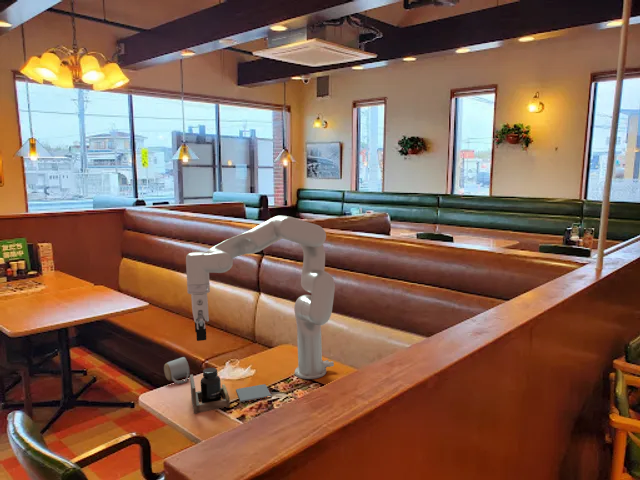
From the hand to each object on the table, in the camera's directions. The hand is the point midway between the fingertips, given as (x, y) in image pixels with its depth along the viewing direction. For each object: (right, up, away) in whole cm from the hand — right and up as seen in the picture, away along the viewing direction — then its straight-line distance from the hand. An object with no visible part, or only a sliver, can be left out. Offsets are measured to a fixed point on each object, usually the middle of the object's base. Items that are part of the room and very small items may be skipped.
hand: (200, 335), depth 165 cm
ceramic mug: (-14, -22, +22) cm, 34 cm away
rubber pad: (+18, -23, +6) cm, 29 cm away
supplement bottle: (+4, -24, 0) cm, 24 cm away
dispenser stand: (+4, -24, 0) cm, 24 cm away
